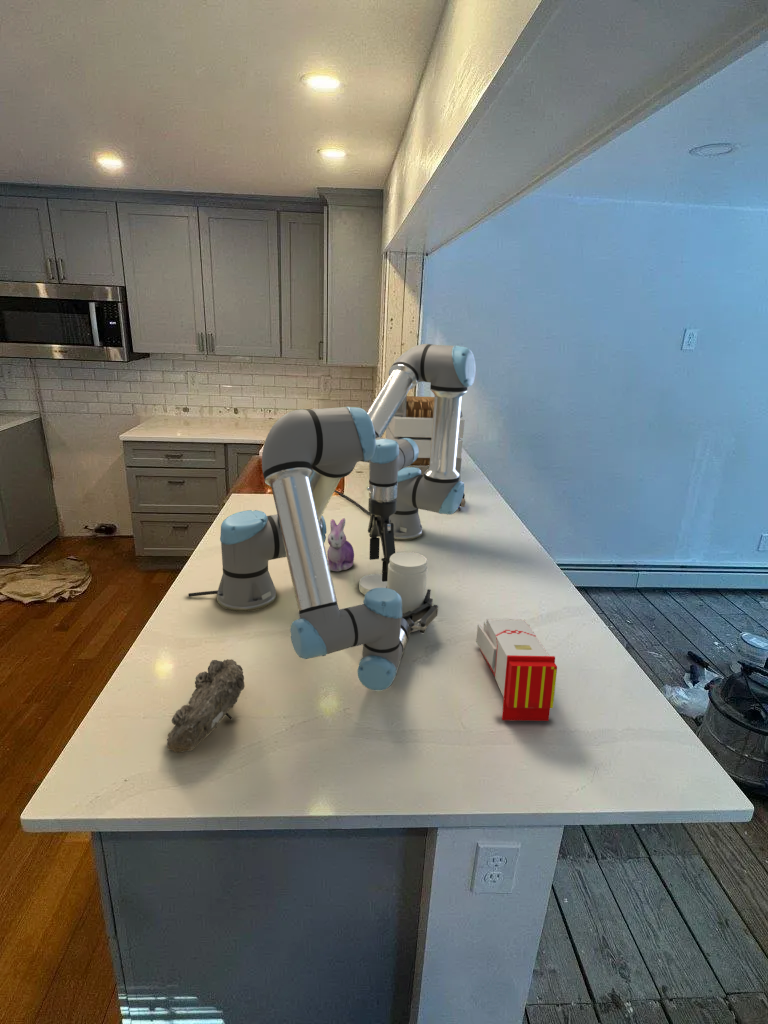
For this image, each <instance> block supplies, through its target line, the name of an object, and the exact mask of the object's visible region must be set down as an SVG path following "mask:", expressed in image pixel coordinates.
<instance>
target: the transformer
mask: <svg viewBox="0 0 768 1024" xmlns="http://www.w3.org/2000/svg"><path fill="white" fill-rule="evenodd" d="M434 397H435V396H415V395H414V396H413V395H412V396H411V395H408V394H407V395H406V397H405V398H404V400H403V402H402V403H401V405H400V407H399V408H398V410H397V412H396V414H395V415H394V417H393V419H392V420H391V422H390V424H389V425H388V427H387V429H386V431H385V438H386V439H393V440H399V439H401V438H410V439H412V440H413V441H414V442H415V443H416V444H417V446H418V449H419V455H418V457H417V459H416V460H415V461H414V462H413V463H412V464H411V465H410V466H411V467H417V466H418V467H429V465H430V451H431V438H432V424H433V410H434ZM464 429H465V419H464V418H463V411H462V410H461V411H460V422H459V433H458V444H457V456H456V467H455V470H456V471H457V472H458V473H459V481H461V472H462V461H463V460H462V453H463V442H464V441H463V440H462V439H463V438H464V431H465V430H464ZM410 466H409V467H410Z"/></svg>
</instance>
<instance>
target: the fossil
mask: <svg viewBox="0 0 768 1024" xmlns="http://www.w3.org/2000/svg"><path fill="white" fill-rule="evenodd" d="M243 670H244V669H243V667H242V665H240V664H237V662H236V661H235V660H234V659H232V658H231V659H227V658H226V659H224V660H223V661H222V660H217V659H212V660H211V661H210V663H209V665H208V666H207V671H201V672H199V673H198V674H197V675H196V676H195V680H194V684H195V685H194V687H195V689H194V690H193V693H192V694H191V697H190V698H189V700H188V704H184V705H182V706H181V707H180V709H177V710H176V711H175V713H174V715H173V716H172V718H171V723H172V724H173V727H172V730H171V731H170V732H168V734H167V738H166V741H167V742H166V745H167V749H168V750H169V751H173V752H174V753H176V754H178V753H182V752H188V751H189V752H192V751H193V750H195V748H196V747H197V746H199V744H200V743H201V742H203V741H204V740H205V739H206V738H207V737H208V736H209V735H210V734H211V733H212V732H214V730H215V729H217V727H218V726H219V724H220V722H221V721H222V720H223V719H224V718H225V716H226V717H227V719H229V720H233V717H232V715H230V714H229V710H230V709H231V708H234V706H235V704H236V703H237V702H238V699H239V697H240V695H241V693H242V691H243V690H245V689H244V688H245V675H244V671H243Z"/></svg>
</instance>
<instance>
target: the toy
mask: <svg viewBox="0 0 768 1024" xmlns="http://www.w3.org/2000/svg"><path fill="white" fill-rule="evenodd" d="M476 629H477V631H476V638H475V642H476V645H477V646H478V648H479V650H480V652H481V654H482V656H483V658H484V660H485V661H486V664H487V666H488V668H489V669H490V671H491V672H492V675H493V676H494V679H495V681H496V685H497V686H498V688H499V690H500V692H501V695H502V697H503V701H502V712H501V720H502V721H521V722H523V721H526V722H528V721H529V722H550V712H551V709H554V702H555V692H556V681H557V673H558V665H557V664H556V656H555V655H550V654H549V652H548V651H547V650H546V648H545V647H544V645H543V644H542V642H541V641H540V639H539V638H538V637H537V635H536V634H535V632H534V631H533V629H532V627H531V625H530V624H528V623H527V621H526V619H521V618H518V619H515V618H513V619H512V618H486V620H484V621H483V626H482V625H481V624H477V628H476Z"/></svg>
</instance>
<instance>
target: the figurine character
mask: <svg viewBox="0 0 768 1024" xmlns="http://www.w3.org/2000/svg"><path fill="white" fill-rule="evenodd" d="M465 496H466V494H465V493H464V494H463V498H462V501H461V503H460V505H459V507H458V509H457V510H458V511H461V510H462V509H461V508H465V505H466V497H465Z"/></svg>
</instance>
